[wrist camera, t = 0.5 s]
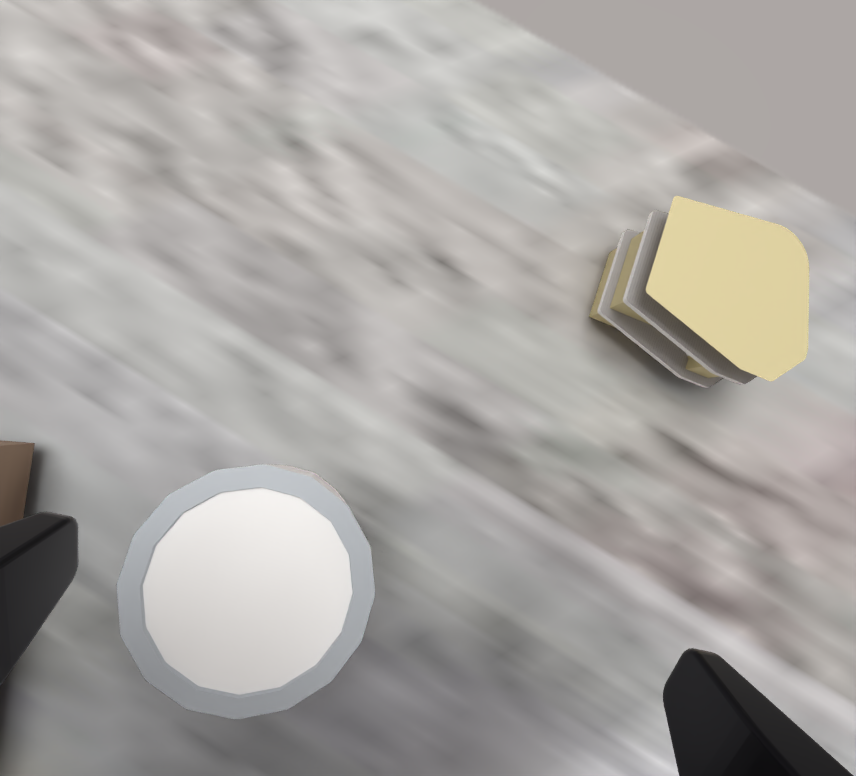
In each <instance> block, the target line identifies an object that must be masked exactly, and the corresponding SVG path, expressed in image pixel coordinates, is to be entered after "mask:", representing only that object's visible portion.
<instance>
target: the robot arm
mask: <svg viewBox="0 0 856 776" xmlns="http://www.w3.org/2000/svg"><path fill="white" fill-rule="evenodd" d="M77 568H78V523H77V521H76V520H75V519H74V518H73V517H70V516H66V515H61V514H57V513H52V512H40V513H37V514H34V515H31V516H28V517H26V518H23V519H20V520H17V521H14V522H11V523H9V524H6V525H3V526H0V685H1V684H2V683H3V681H4V680H5V678H6V677H7V676H8V674H9V673H10V672H11V670H12V669H13V667H14V666H15V664H16V663H17V661H18V660H19V658H20V657H21V655H22V654H23V652H24V651H25V650H26V648H27V647H28V645H29V644H30V642H31V641H32V639H33V638H34V636H35V635H36V633H37V632H38V630H39V629H40V627H41V626H42V625H43V623H44V622H45V620H46V619H47V617H48V616H49V614H50V613H51V611H52V610H53V608H54V607H55V605H56V604H57V602H58V601H59V600H60V598H61V597H62V595H63V594H64V592H65V591H66V589H67V588H68V586H69V585H70V583H71V582H72V580H73V578H74V576H75V574H76V571H77ZM663 702H664V708H665V712H666V717H667V721H668V726H669V731H670V735H671V740H672V744H673V749H674V754H675V758H676V763H677V768H678V772H679V776H853V775H852V774H851V773H850V772H849V771H848V770H846V769H845V768H844V767H843V766H842V765H841V764H840V763H839V762H838V761H836V760H835V759H834V758H833V757H832V756H831V755H830V754H829V753H827V752H826V751H825V750H824V749H823V748H822V747H821V746H820V745H819V744H817V743H816V742H815V741H814V740H813V739H812V738H811V737H810V736H808V735H807V734H806V733H805V732H804V731H803V730H802V729H801V728H800V727H798V726H797V725H796V724H795V723H794V722H793V721H792V720H791V719H789V718H788V717H787V716H786V715H785V714H784V713H783V712H782V711H781V710H779V709H778V708H777V707H776V706H775V705H774V704H773V703H772V702H771V701H769V700H768V699H767V698H766V697H765V696H764V695H763V694H762V693H760V692H759V691H758V690H757V689H756V688H755V687H754V686H753V685H752V684H750V683H749V682H748V681H747V680H746V679H745V678H744V677H743V676H741V675H740V674H739V673H738V672H737V671H736V670H735V669H734V668H733V667H731V666H730V665H729V664H728V663H727V662H726V661H725V660H724V659H723V658H721V657H720V656H719V655H717V654H715V653H712V652H708V651H703V650H698V649H693V648H692V649H688V650H686V651H684V652H683V654H682V655H681V657H680V659H679V661H678V662H677V664H676V666H675V668H674V669H673V671H672V673H671V675H670V676H669V678H668V680H667V682H666V684H665V687H664V691H663Z"/></svg>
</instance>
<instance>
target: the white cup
mask: <svg viewBox="0 0 856 776" xmlns="http://www.w3.org/2000/svg"><path fill="white" fill-rule="evenodd" d="M117 597H118V610H119V623H120V636H121V638H122V640H123V641H124V643H125V645H126V647H127V649H128V650H129V652H130V654H131V656H132V658H133V659H134V661H135V663H136V665H137V666H138V668H139V670H140V672H141V674H142V675H143V677H144V679H145V680H146V681H147V682H148V683H150V684H151V685H153V686H154V687H155V688H157V689H158V690H160V691H161V692H162V693H164V694H165V695H167V696H168V697H169V698H171V699H172V700H173V701H175V702H176V703H178V704H179V705H180V706H182V707H183V708H185V709H186V710H191V711H196V712H200V713H205V714H210V715H215V716H220V717H225V718H230V719H235V720H238V719H243V718H248V717H253V716H258V715H263V714H268V713H273V712H278V711H284V710H288V709H289V708H291V707H292V706H294V705H296V704H297V703H299V702H300V701H302V700H303V699H305V698H307V697H308V696H310V695H311V694H313V693H315V692H316V691H318V690H319V689H321V688H322V687H324V686H326V685H327V684H329V683H330V682H331V681H332V680H333V679H334V677H335V676H336V675H337V674H338V672H339V671H340V670H341V668H342V667H343V666H344V664H345V663H346V662H347V660H348V659H349V658H350V656H351V655H352V654H353V652H354V651H355V650H356V648H357V647H358V646H359V644H360V643H361V642H362V639H363V635H364V632H365V628H366V625H367V621H368V618H369V614H370V611H371V608H372V604H373V601H374V597H375V585H374V575H373V565H372V555H371V546H370V545H369V543H368V541H367V539H366V537H365V535H364V534H363V532H362V530H361V528H360V526H359V524H358V523H357V521H356V519H355V517H354V515H353V513H352V512H351V510H350V508H349V506H348V505H347V503H346V502H345V501H344V499H343V498H342V497H341V495H340V494H339V493H338V492H337V490H336V489H335V488H334V487H332V486H331V485H330V484H329V483H327V482H326V481H325V480H323V479H322V478H321V477H320V476H318V475H317V474H316V473H314V472H310V471H306V470H303V469H299V468H296V467H292V466H286V465H271V464H261V465H253V466H245V467H236V468H228V469H219V470H214V471H212V472H210V473H208V474H206V475H204V476H202V477H201V478H199V479H197V480H195V481H193V482H191V483H189V484H187V485H185V486H184V487H182V488H180V489H178V490H176V491H174V492H172V493H170V494H169V495H168V496H167V497H166V498H165V499H164V500H163V501H162V503H161V504H160V505H159V506H158V507H157V508H156V509H155V511H154V512H153V513H152V514H151V515H150V516H149V518H148V519H147V520H146V521H145V522H144V523H143V525H142V526H141V527H140V528H139V529H138V530H137V531H136V533H135V534H134V535H133V538H132V541H131V544H130V547H129V550H128V553H127V556H126V558H125V561H124V564H123V567H122V570H121V573H120V576H119V579H118V582H117Z"/></svg>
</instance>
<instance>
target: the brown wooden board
mask: <svg viewBox="0 0 856 776" xmlns="http://www.w3.org/2000/svg"><path fill="white" fill-rule="evenodd" d="M33 450H34V443H25V442H12V441H0V526H3V525H6V524H9V523H11V522H14V521H17V520H20V519H23V515H24V509H25V502H26V496H27V489H28V483H29V476H30V470H31V463H32V456H33Z"/></svg>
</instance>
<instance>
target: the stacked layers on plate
mask: <svg viewBox="0 0 856 776" xmlns="http://www.w3.org/2000/svg"><path fill="white" fill-rule="evenodd" d="M808 315H809V262H808V257H807V254H806V251H805V249H804V247H803V245H802V243H801V242H800V240H799V239H798V238H797V237H796V236H795V235H794V234H793V233H792V232H791V231H790V230H788V229H787V228H785V227H783V226H781V225H778V224H775V223H771V222H768V221H764V220H761V219H757V218H754V217H750V216H746V215H743V214H739V213H736V212H732V211H729V210H725V209H722V208H718V207H715V206H711V205H708V204H704V203H701V202H697V201H694V200H690V199H687V198H683V197H679V196H675V197H674V199H673V202H672V205H671V208H670V211H669V213H666V212H662V211H659V210H655V211H653V212H652V213H650V214H649V217H648V220H647V223H646V226H645V230H644V231H643V232H637V231H633V230H630V229H627V230H625V231H624V232H623V233H622V234H621V238H620V241H619V244H618V247H617V248H616V249H615V250H613V251H611V252H610V253H609V256H608V259H607V262H606V265H605V269H604V272H603V275H602V278H601V281H600V284H599V287H598V290H597V294H596V297H595V300H594V303H593V306H592V309H591V312H590V315H589V317H591V318H593V319H595V320H598V321H600V322H603V323H605V324H608V325H610V326H613V327H615V328H617V329H618V330H620V331H621V332H622V333H623V334H625V335H626V336H627V337H628V338H630V339H631V340H632V341H633V342H635V343H636V344H637V345H638V346H640V347H641V348H642V349H643V350H645V351H646V352H647V353H648V354H650V355H651V356H652V357H653V358H655V359H656V360H657V361H658V362H660V363H661V364H662V365H663V366H665V367H666V368H667V369H668V370H670V371H671V372H672V373H673V374H675V375H676V376H677V377H679V378H681V379H684V380H686V381H689V382H691V383H694V384H696V385H699V386H701V387H704V388H706V387H711V386H712V385H714V384H715V383H717V382H718V381H720V380H722V379H723V378H725V379H727V380H730V381H732V382H735V383H737V384H746V383H748V382H749V381H751V380H752V379H754V378H755V377H757V376H758V377H761V378H763V379H766V380H768V381H774V380H775V379H777V378H778V377H780V376H781V375H783V374H784V373H786V372H787V371H789V370H790V369H791V368H793V367H794V366H796V365H797V364H799V363H800V362H802V361H803V360H805V358H806V355H807V351H808Z"/></svg>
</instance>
